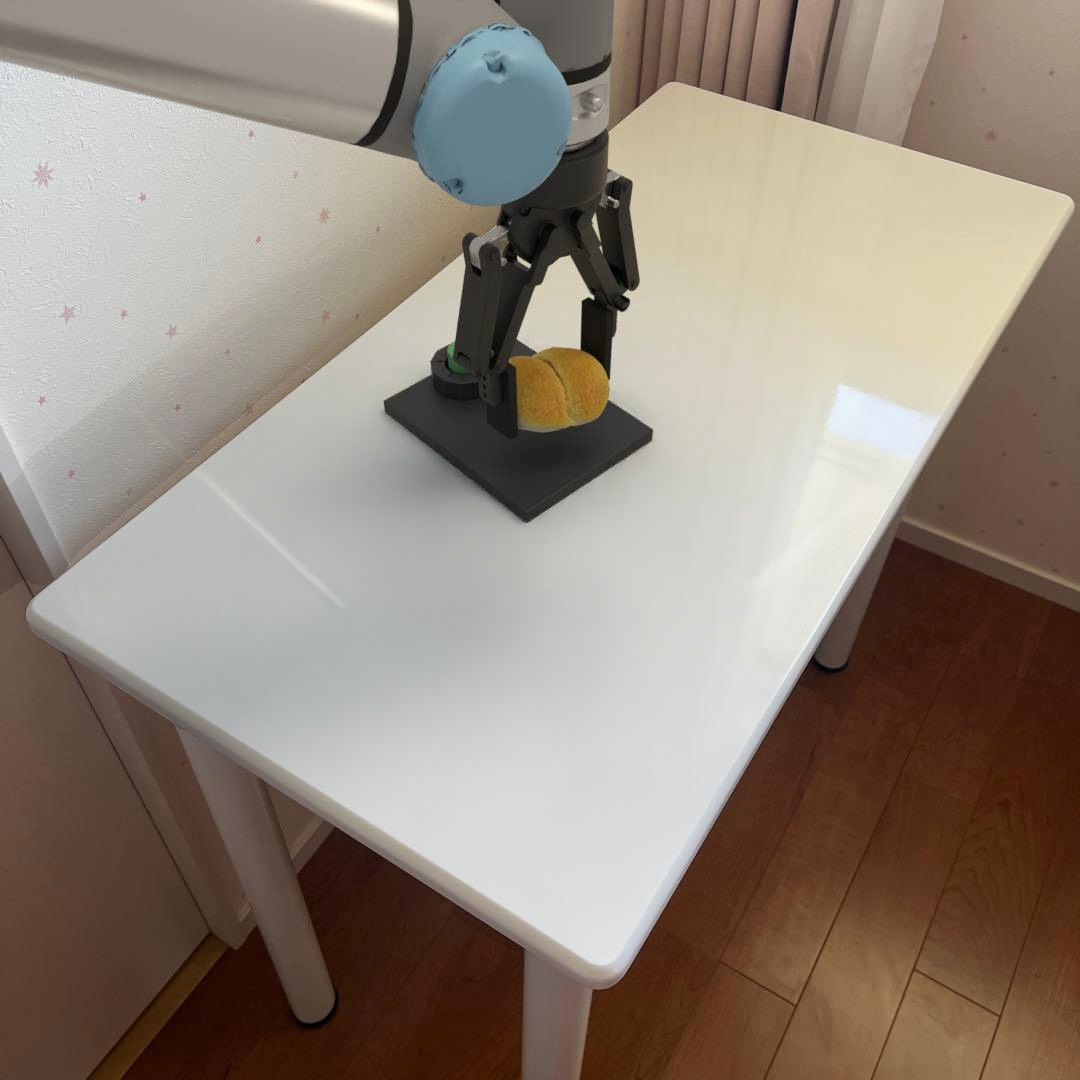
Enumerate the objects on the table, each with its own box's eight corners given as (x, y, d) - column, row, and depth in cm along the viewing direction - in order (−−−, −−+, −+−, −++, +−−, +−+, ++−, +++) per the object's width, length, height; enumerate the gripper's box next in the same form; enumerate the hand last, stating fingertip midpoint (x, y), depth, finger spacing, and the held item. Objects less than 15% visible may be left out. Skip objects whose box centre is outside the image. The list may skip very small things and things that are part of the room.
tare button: (441, 364, 94) (440, 348, 93) (466, 351, 95) (465, 334, 94) (463, 380, 92) (461, 363, 91) (488, 366, 94) (487, 349, 92)
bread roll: (625, 418, 86) (627, 378, 83) (517, 447, 83) (516, 407, 80) (583, 357, 91) (584, 317, 88) (480, 383, 89) (478, 342, 86)
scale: (382, 409, 94) (378, 381, 92) (505, 341, 100) (504, 314, 98) (527, 523, 85) (526, 495, 82) (652, 440, 91) (655, 412, 89)
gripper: (455, 211, 63) (474, 491, 80) (709, 93, 73) (679, 363, 90) (376, 164, 67) (410, 441, 84) (628, 58, 77) (614, 323, 94)
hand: (549, 400), depth 87 cm, fingers closed on bread roll, 9 cm apart
